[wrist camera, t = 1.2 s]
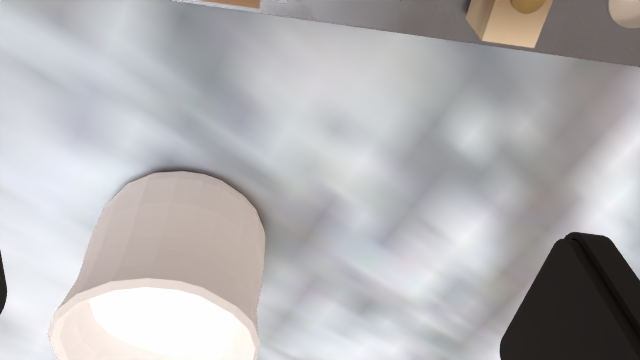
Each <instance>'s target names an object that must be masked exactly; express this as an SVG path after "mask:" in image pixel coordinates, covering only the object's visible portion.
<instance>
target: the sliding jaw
mask: <svg viewBox="0 0 640 360" xmlns="http://www.w3.org/2000/svg"><path fill="white" fill-rule="evenodd" d="M552 2H553V0H471V2H470V6H469V9H468V12H467V15H466V20H467V21H468V23H469V24H470V25H471V27H472V28H473V29H474V31H475V32H476V34H477V35H478V36H479V38H480V39H481V40H482V41H487V42H494V43H501V44H508V45H515V46H522V47H529V48H534V47H535V45H536V42H537V40H538V37H539V35H540V32H541V29H542V27H543V24H544V22H545V19H546V17H547V14H548V12H549V9H550V7H551V4H552Z"/></svg>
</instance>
